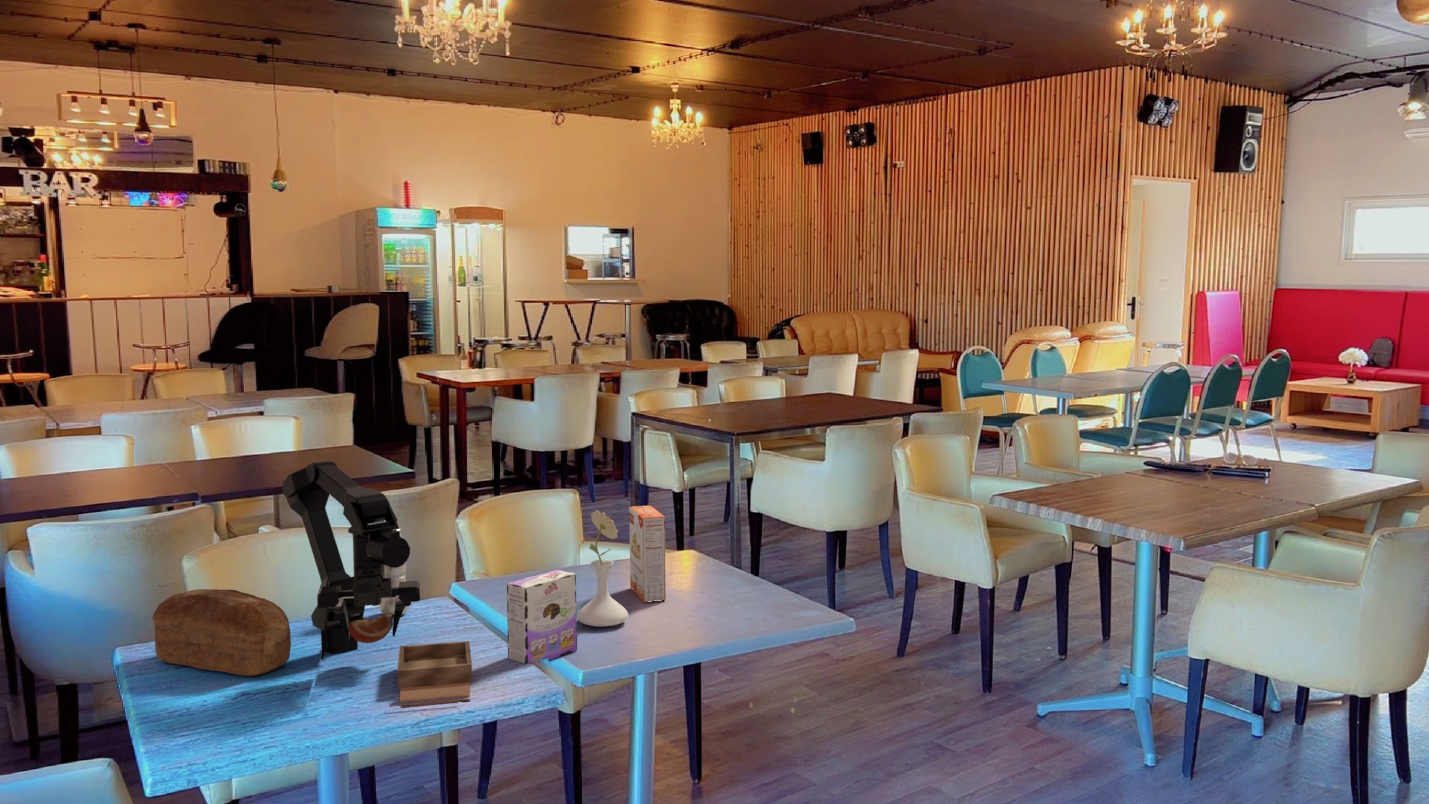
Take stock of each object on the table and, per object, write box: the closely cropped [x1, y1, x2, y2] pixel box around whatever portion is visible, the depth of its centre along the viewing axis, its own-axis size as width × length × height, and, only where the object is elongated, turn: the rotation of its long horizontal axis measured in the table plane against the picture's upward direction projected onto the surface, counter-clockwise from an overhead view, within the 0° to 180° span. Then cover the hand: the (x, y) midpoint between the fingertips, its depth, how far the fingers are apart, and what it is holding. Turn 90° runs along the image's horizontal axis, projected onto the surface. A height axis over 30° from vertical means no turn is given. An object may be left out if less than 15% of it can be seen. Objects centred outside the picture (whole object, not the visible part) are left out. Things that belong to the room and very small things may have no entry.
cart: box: [397, 640, 473, 690], centre depth 199 cm, size 13×14×4 cm
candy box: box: [506, 569, 578, 665], centre depth 213 cm, size 14×6×16 cm, turn 141°
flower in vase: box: [576, 509, 629, 628], centre depth 236 cm, size 13×11×25 cm
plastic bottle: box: [378, 526, 410, 617], centre depth 241 cm, size 6×7×20 cm
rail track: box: [399, 682, 471, 709], centre depth 202 cm, size 12×28×3 cm, turn 15°
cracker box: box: [628, 505, 667, 603], centre depth 258 cm, size 14×6×21 cm, turn 17°
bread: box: [152, 588, 292, 677], centre depth 209 cm, size 12×28×14 cm, turn 69°
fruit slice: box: [349, 614, 394, 644], centre depth 206 cm, size 8×7×5 cm
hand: (371, 637), depth 206 cm, fingers closed on fruit slice, 8 cm apart
